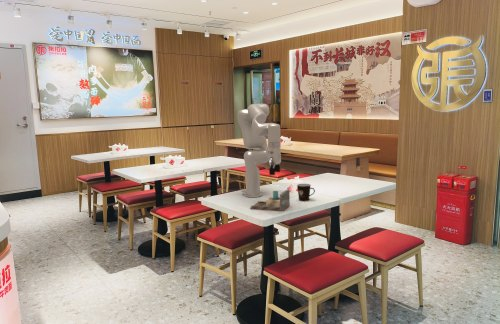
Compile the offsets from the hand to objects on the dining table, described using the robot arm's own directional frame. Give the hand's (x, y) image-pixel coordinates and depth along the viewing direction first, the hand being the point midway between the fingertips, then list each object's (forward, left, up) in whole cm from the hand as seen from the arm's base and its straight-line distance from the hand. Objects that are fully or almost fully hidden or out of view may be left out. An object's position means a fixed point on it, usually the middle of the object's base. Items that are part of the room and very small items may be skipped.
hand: (274, 173), depth 227 cm
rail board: (-3, 0, -21) cm, 21 cm away
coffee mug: (+13, +22, -21) cm, 33 cm away
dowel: (0, 0, -19) cm, 19 cm away
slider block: (0, 0, -20) cm, 20 cm away
